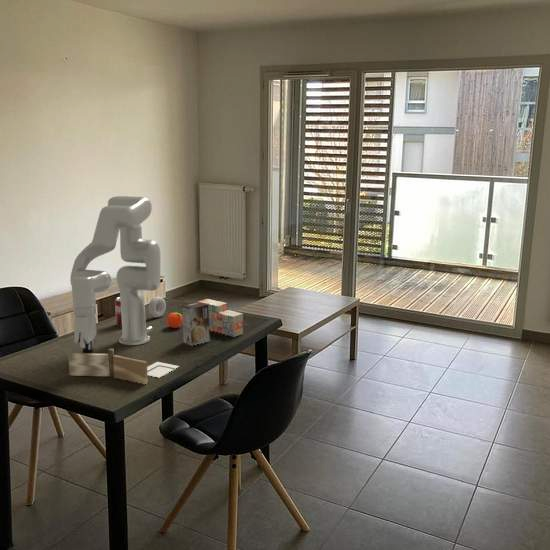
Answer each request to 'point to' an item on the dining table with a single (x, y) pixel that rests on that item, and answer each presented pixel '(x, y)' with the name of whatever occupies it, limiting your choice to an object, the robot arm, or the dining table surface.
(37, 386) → the dining table surface
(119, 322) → the soda can
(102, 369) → the pale wooden plank
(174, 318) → the clementine
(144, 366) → the wooden hinged panel
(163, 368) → the card
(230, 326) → the stack of blocks
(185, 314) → the coffee box
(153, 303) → the donut
